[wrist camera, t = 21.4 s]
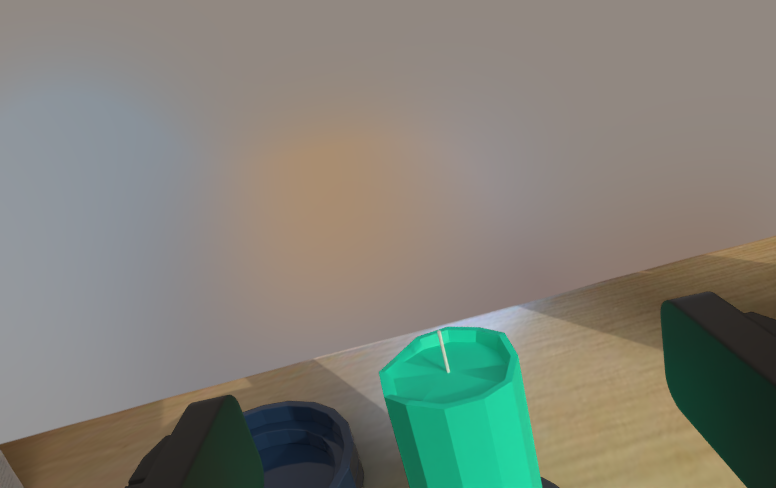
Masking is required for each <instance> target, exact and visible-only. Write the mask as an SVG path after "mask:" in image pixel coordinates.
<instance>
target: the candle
mask: <svg viewBox="0 0 776 488" xmlns="http://www.w3.org/2000/svg"><path fill="white" fill-rule="evenodd" d="M379 376H380V380H381V385H382V390H383V394H384V399H385V402H386V406H387V409H388V413H389V416H390V420H391V423H392V427H393V430H394V434H395V437H396V441H397V444H398V448H399V451H400V455H401V458H402V462H403V465H404V469H405V472H406V476H407V479H408V483H409V486H410V488H542V483H541V477H540V472H539V467H538V461H537V456H536V450H535V445H534V439H533V434H532V428H531V423H530V418H529V412H528V407H527V401H526V396H525V390H524V385H523V380H522V374H521V369H520V363H519V358H518V354H517V353H516V351H515V349H514V348H513V346H512V344H511V343H510V341H509V340H508V338H507V336H506V335H505V333H503V332H498V331H494V330H489V329H484V328H480V327H445V328H442V329H439V330H436V331H433V332H430V333H427V334H424V335H421V336H418V337H416V338H415V339H414V340H413V341H412V342H411V343H410V344H409V345H408V346H407V347H406V348H404V349H403V350H402V351H401V352H400V353H399V354H398V355H397V356H396V357H395V358H394V359H393V360H392V361H390V362H389V363H388V364H387V365H386V366H385V367H384V368H383V369H382V370H381V371H379Z"/></svg>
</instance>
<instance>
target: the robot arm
mask: <svg viewBox="0 0 776 488" xmlns="http://www.w3.org/2000/svg"><path fill="white" fill-rule="evenodd" d="M661 327H662V339H663V351H664V363H665V374H666V380H667V384H668V388H669V390H670V393H671V395H672V397H673V400H674V401H675V403H676V405H677V407H678V408H679V409H680V411H681V412H682V413H683V414H684V415H685V417H686V418H687V419H688V420H689V421H690V422H691V424H692V425H693V426H694V427H695V428H696V429H697V430H698V432H699V433H700V434H701V435H702V436H703V437H704V438H705V440H706V441H707V442H708V443H709V444H710V445H711V446H712V448H713V449H714V450H715V451H716V452H717V453H718V455H719V456H720V457H721V458H722V459H723V460H724V461H725V463H726V464H727V465H728V466H729V467H730V468H731V469H732V471H733V472H734V473H735V474H736V475H737V476H738V478H739V479H740V480H741V481H742V482H743V483H744V484H745V486H746V487H747V488H776V320H775V319H772V318H769V317H766V316H763V315H760V314H757V313H754V312H748V313H743V312H741V311H740V310H738V309H737V308H736V307H734V306H733V305H731V304H730V303H728V302H727V301H725V300H724V299H722V298H721V297H719V296H718V295H716V294H715V293H713V292H703V293H698V294H694V295H689V296H685V297H680V298H676V299H671V300H666V301H664V302H663V303H662V306H661ZM128 483H129V485H128V486H126V487H125V488H264V471H263V465H262V461H261V458H260V455H259V453H258V450H257V448H256V445H255V443H254V440H253V438H252V435H251V433H250V430H249V428H248V425H247V423H246V420H245V418H244V415H243V413H242V410H241V408H240V405H239V403H238V401H237V400H236V398H235V397H234V396H232V395H226V396H221V397H216V398H212V399H207V400H203V401H198V402H194V403H191V404H190V405H188V407H187V408H186V410H185V412H184V413H183V415H182V417H181V418H180V420H179V422H178V423H177V425H176V427H175V429H174V430H173V432H172V434H171V435H168V436H165V437H164V438H163V439H162V440H161V441H160V442H159V443H158V444H157V445H156V446H155V447H154V448H153V449H152V450H151V451H150V452H149V453H148V454H147V455H146V456H145V457H144V458H143V459H142V461H141V462H140V464H139V465H138V467H137V469H136V470H135V472H134V473H133V475H132V477H131V478H130V480H129V481H128Z"/></svg>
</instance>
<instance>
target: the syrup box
mask: <svg viewBox="0 0 776 488" xmlns="http://www.w3.org/2000/svg"><path fill="white" fill-rule="evenodd" d="M0 488H24V487H23V485H22V484H21V482H20V480H19V479H18V477H17V476H16V474H15V473H14V471H13V470H12V468H11V466H10V465H9V463H8V461H7V460H6V458H5V456H4V455H3V453H2V451H1V450H0Z"/></svg>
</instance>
